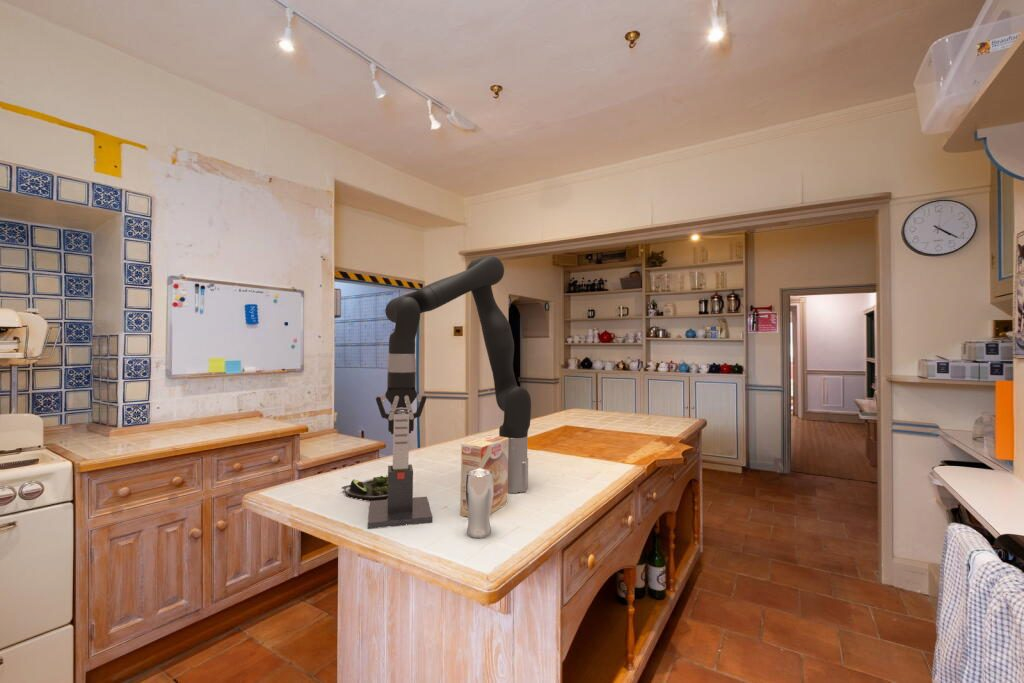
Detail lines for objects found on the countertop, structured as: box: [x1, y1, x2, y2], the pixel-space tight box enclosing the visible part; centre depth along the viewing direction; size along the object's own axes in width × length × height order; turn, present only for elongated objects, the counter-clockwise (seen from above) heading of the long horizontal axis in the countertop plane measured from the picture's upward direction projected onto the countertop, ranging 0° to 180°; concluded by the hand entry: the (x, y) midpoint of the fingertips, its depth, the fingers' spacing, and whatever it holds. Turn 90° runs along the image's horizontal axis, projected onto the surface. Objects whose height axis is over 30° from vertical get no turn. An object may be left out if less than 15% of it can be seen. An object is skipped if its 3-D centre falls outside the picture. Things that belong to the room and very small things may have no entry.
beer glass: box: [465, 469, 494, 539], centre depth 110 cm, size 7×7×15 cm
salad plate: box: [341, 474, 388, 502], centre depth 141 cm, size 19×18×5 cm
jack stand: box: [367, 463, 433, 529], centre depth 121 cm, size 16×16×12 cm
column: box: [392, 407, 410, 471], centre depth 121 cm, size 4×4×21 cm
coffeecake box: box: [459, 434, 509, 518], centre depth 126 cm, size 15×7×20 cm, turn 151°
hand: (400, 432), depth 122 cm, fingers closed on column, 4 cm apart
